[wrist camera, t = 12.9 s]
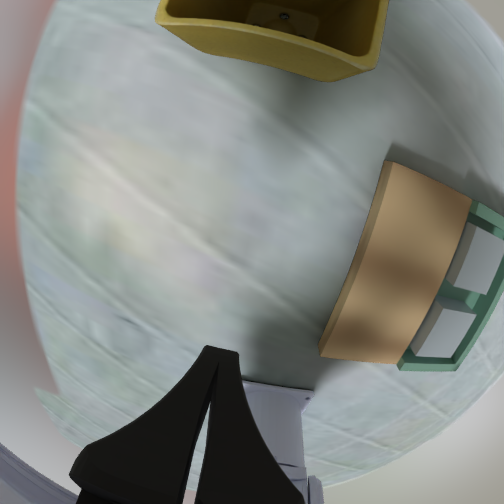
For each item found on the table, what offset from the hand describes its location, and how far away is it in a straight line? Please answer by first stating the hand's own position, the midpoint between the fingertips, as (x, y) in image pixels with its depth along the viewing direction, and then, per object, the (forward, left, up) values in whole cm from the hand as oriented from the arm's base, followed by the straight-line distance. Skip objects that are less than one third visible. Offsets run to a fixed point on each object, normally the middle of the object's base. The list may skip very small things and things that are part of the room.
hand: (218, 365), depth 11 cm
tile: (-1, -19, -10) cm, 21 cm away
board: (+2, -12, -10) cm, 16 cm away
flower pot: (+17, +1, -11) cm, 20 cm away
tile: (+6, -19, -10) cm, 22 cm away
